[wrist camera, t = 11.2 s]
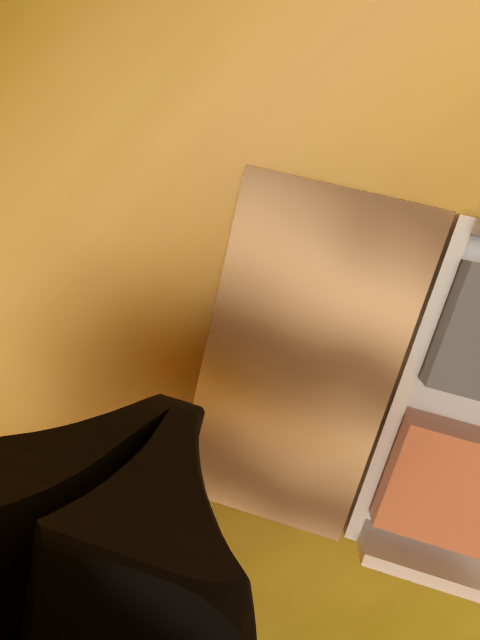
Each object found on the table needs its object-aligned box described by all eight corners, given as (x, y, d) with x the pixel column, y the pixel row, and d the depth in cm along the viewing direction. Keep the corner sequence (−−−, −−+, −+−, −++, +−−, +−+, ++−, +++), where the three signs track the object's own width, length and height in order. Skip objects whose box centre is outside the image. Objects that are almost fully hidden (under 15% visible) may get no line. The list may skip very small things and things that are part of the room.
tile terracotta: (472, 528, 19) (491, 563, 17) (365, 496, 19) (372, 526, 17) (514, 435, 18) (539, 461, 16) (399, 404, 18) (410, 424, 16)
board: (335, 511, 20) (338, 541, 18) (185, 466, 21) (173, 489, 19) (438, 213, 17) (455, 211, 15) (252, 171, 17) (245, 164, 16)
